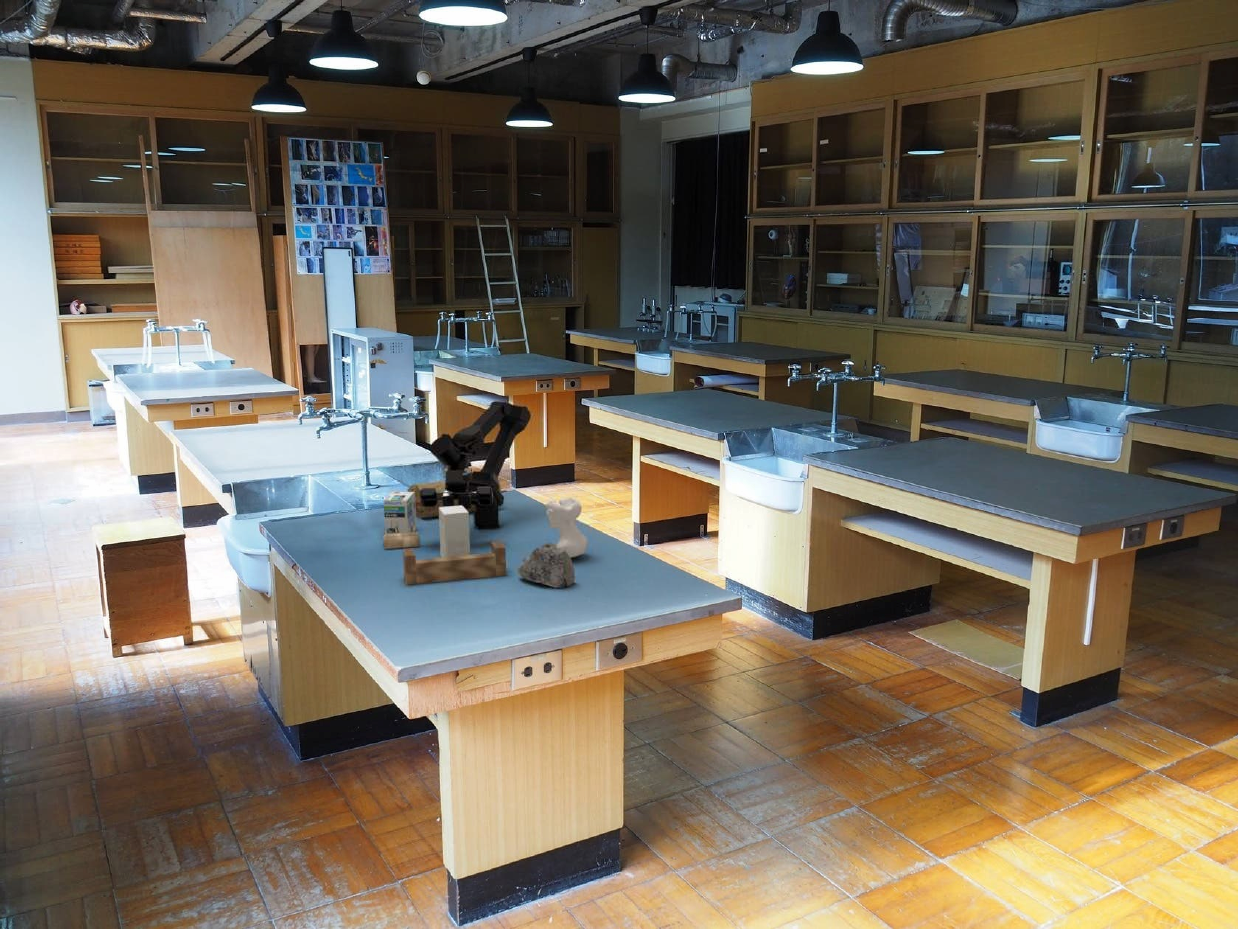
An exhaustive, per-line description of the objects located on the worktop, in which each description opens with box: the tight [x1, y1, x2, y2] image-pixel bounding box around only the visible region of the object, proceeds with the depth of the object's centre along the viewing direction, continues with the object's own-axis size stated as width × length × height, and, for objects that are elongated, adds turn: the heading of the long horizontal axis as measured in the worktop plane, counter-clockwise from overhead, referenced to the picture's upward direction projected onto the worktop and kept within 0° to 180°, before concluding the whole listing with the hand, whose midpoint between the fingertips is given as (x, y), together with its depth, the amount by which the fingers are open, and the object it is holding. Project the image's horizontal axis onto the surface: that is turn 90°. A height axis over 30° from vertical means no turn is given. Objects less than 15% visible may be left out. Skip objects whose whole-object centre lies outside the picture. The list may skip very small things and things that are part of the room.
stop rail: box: [402, 540, 507, 586], centre depth 249 cm, size 24×6×7 cm, turn 107°
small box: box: [438, 506, 471, 558], centre depth 262 cm, size 8×6×13 cm
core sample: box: [406, 479, 502, 520], centre depth 310 cm, size 14×26×10 cm, turn 120°
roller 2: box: [383, 534, 421, 550], centre depth 274 cm, size 9×3×3 cm
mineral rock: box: [517, 542, 576, 589], centre depth 244 cm, size 13×11×10 cm
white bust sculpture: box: [545, 497, 588, 559], centre depth 263 cm, size 10×11×15 cm
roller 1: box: [382, 531, 419, 547], centre depth 277 cm, size 9×3×3 cm, turn 107°
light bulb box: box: [383, 491, 418, 535], centre depth 286 cm, size 11×7×11 cm, turn 179°
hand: (456, 524), depth 269 cm, fingers closed
